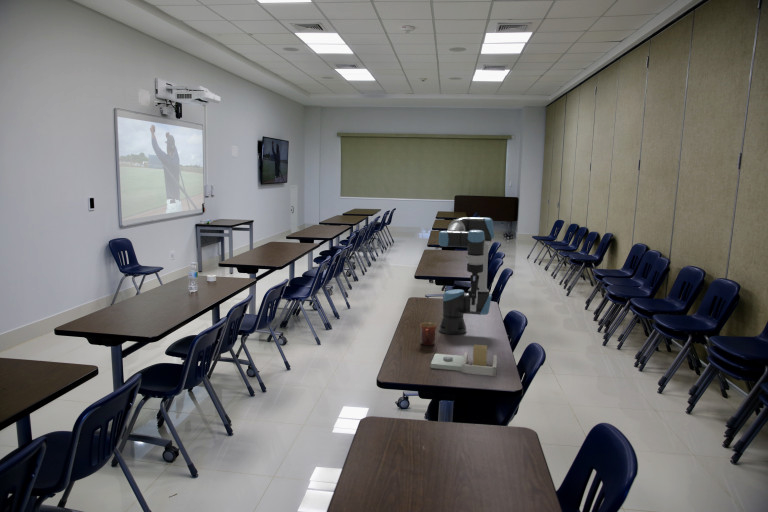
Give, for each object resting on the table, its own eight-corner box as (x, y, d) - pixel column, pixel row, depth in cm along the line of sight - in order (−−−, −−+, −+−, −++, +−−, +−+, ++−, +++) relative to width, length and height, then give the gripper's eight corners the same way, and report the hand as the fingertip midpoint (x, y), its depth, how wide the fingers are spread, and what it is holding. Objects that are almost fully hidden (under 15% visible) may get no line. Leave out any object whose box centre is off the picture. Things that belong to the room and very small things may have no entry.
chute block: (473, 362, 235) (474, 344, 234) (486, 364, 234) (487, 345, 233) (472, 366, 231) (473, 347, 229) (486, 367, 229) (486, 349, 228)
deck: (435, 356, 243) (435, 350, 242) (496, 362, 236) (496, 355, 236) (429, 369, 227) (430, 362, 226) (495, 376, 220) (496, 368, 219)
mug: (420, 340, 268) (420, 321, 266) (437, 341, 266) (437, 322, 264) (417, 347, 256) (417, 328, 255) (434, 349, 254) (435, 329, 253)
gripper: (468, 258, 248) (467, 299, 252) (465, 268, 224) (464, 314, 228) (484, 258, 246) (482, 300, 250) (482, 269, 222) (480, 315, 226)
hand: (473, 307), depth 239 cm, fingers open, 13 cm apart
